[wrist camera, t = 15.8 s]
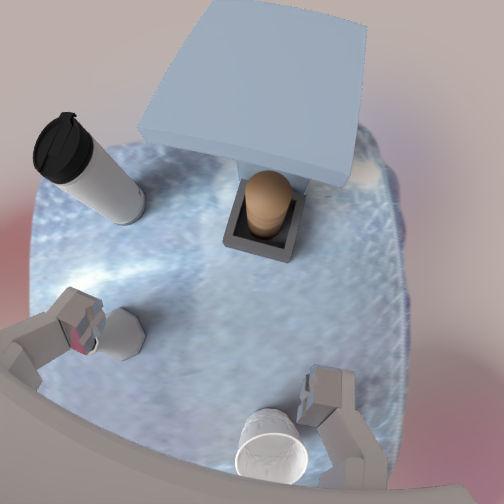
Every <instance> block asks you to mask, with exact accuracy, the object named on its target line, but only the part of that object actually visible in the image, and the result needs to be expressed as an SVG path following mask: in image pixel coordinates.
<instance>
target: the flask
mask: <svg viewBox="0 0 504 504" xmlns="http://www.w3.org/2000/svg"><path fill="white" fill-rule="evenodd" d="M105 316H106V324H105V327H104V330H103V332H102V333H101V335H100V336H98V337H96V338H94V341H95V344H94V346H93V347H92V349H91V350H90V352H89V354H88V355H87V356H89V355H91V354H93V353H95V352H97V351H98V352H103V353H106V354H108V355H110V356H112V357H114V358H116V359H118V360H120V361H124V360H126V359H128V358H131V357H133V356H135V355H137V354H138V353H139V351H140V349H141V346H142V344H143V342H144V340H145V337H146V335H145V333H144V331H143V329H142V327H141V325H140V323H139V320H138V318H137V317H136V316H134V315H133V314H131V313H129V312H127V311H126V310H124V309H123V308H121V307H120V308H118V309H116V310H114V311H112V312H110V313H109V314H107V315H105Z"/></svg>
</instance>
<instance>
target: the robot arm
mask: <svg viewBox="0 0 504 504" xmlns="http://www.w3.org/2000/svg"><path fill="white" fill-rule="evenodd" d="M102 307H103V303H102V300H100V299H98V298H96V297H93V296H91V295H89V294H86V293H84V292H82V291H80V290H77V289H75V288H72V287H69V288H67V289H66V290H65V291H64V292H63V293H62V294H61V296H60V297H59V298H58V299H57V300H56V301H55V303H54V304H53V305H52V306H51V308H50V309H49V310H48V311H47V312H46V313H45V312H42V313H40V314H37V315H35V316H33V317H30V318H28V319H26V320H23V321H21V322H19V323H16V324H14V325H12V326H10V327H7V328H5V329H2V330H0V504H477V503H476V501H475V500H474V498H473V496H472V495H471V494H470V492H469V491H468V490H467V488H466V487H465V486H464V485H462V484H451V485H443V486H435V487H426V488H414V489H399V490H387V457H386V455H385V454H384V452H383V450H382V449H381V447H380V445H379V444H378V442H377V440H376V439H375V437H374V436H373V434H372V432H371V431H370V429H369V427H368V426H367V424H366V422H365V421H364V419H363V418H362V416H361V414H360V413H359V411H355V374H354V372H353V371H348V370H342V369H340V368H334V367H329V366H323V365H318V364H314V365H313V366H312V367H311V369H310V374H308V375H306V377H305V378H304V380H303V383H302V386H301V390H300V396H299V398H300V400H301V402H302V403H301V404H300V406H299V407H298V411H297V419H296V423H297V424H302V425H307V426H312V427H318V428H317V430H318V432H319V434H320V437H321V439H322V441H323V444H324V446H325V448H326V450H327V453H328V455H329V457H330V460H331V462H332V464H333V466H334V467H333V468H331V469H329V470H328V471H326V472H324V473H323V474H321V475H320V479H319V486H318V488H317V487H307V486H298V485H291V484H284V483H277V482H271V481H265V480H260V479H255V478H250V477H245V476H240V475H236V474H232V473H227V472H223V471H219V470H216V469H212V468H208V467H205V466H201V465H198V464H194V463H191V462H188V461H185V460H182V459H178V458H175V457H172V456H170V455H167V454H164V453H161V452H158V451H156V450H153V449H150V448H148V447H145V446H143V445H140V444H138V443H135V442H133V441H130V440H128V439H126V438H123V437H121V436H119V435H117V434H114V433H112V432H110V431H108V430H106V429H104V428H101V427H99V426H97V425H95V424H93V423H91V422H89V421H87V420H85V419H84V418H82V417H80V416H78V415H76V414H74V413H72V412H70V411H69V410H67V409H65V408H63V407H62V406H60V405H58V404H56V403H55V402H53V401H51V400H50V399H48V398H46V397H45V396H43V395H42V394H40V393H38V392H37V390H38V388H39V386H40V385H41V383H42V378H41V376H40V375H39V373H38V372H37V369H39V368H40V367H42V366H44V365H45V364H47V363H49V362H50V361H52V360H54V359H55V358H57V357H59V356H60V355H62V354H64V353H65V352H67V351H68V350H70V348H71V349H73V350H75V351H77V352H80V353H82V354H84V355H86V356H87V355H88V354H89V352H90V350H91V349H92V347H93V346H94V344H95V341H94V338H96V337H98V336H100V335H101V333H102V332H103V330H104V327H105V324H106V316H105V313H104V312H103V310H102Z"/></svg>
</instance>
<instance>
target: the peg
mask: <svg viewBox="0 0 504 504" xmlns="http://www.w3.org/2000/svg"><path fill="white" fill-rule="evenodd" d="M245 197H246V210H247V223H248V229H249V231H250V233H251V234H252V235H253V236H254V237H256V238H258V239H260V240H269V239H272V238H274V237H275V236H276V235H277V234H278V233H279V232H280V229H281V227H282V224H283V221H284V218H285V215H286V212H287V210H288V207H289V204H290V201H291V198H292V188H291V185H290V183H289V181H288V180H287V178H286V177H285V176H283V175H282V174H280V173H278V172H276V171H270V170H265V171H261V172H258V173H256V174H254V175H253V176H252V177H251V178H250V179H249V181H248V182H247V185H246V188H245Z"/></svg>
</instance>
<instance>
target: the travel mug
mask: <svg viewBox="0 0 504 504" xmlns="http://www.w3.org/2000/svg"><path fill="white" fill-rule="evenodd" d="M74 117H76V114H75V113H71V112H62V113H61V114H60V116H59V117H58V118H56V119H54V120H53V121H51V122H50V123H49V124H48V125H47V126H46V127H45V128H44V129H43V131H42V132H41V134H40V135H39V137H38V139H37V141H36V144H35V147H34V151H33V163H34V167H35V169H37V171H38V172H39V173H40V174H41V175H42V176H43V177H45V178H46V179H48V180H49V181H50V182H52V183H53V184H55V185H56V186H57V187H59V188H61V189H62V190H64V191H65V192H67V193H68V194H70V195H71V196H73V197H74V198H76V199H78V200H79V201H81V202H82V203H84V204H85V205H87V206H89V207H90V208H92V209H93V210H95V211H96V212H98V213H100V214H101V215H103V216H104V217H106V218H108V219H109V220H111V221H113V222H114V223H116V224H118V225H130V224H132V223H134V222H135V221H137V220H138V219H139V218H140V217H141V215H142V214H143V212H144V210H145V206H146V197H145V194H144V192H143V191H142V190H141V189H140V188H139V187H138V185H137V184H136V183H135V182H134V181H133V180H132V179H131V178H130V177H129V176H128V175H127V174H126V173H125V172H124V171H123V169H122V168H121V167H120V166H119V165H118V164H117V163H116V162H115V161H114V160H113V159H112V158H111V157H110V155H109V154H108V153H107V152H106V151H105V150H104V149H103V148H102V147H101V146H100V145H99V143H98V142H97V141H96V140H95V139H94V138H93V137H92V136H91V135H90V133H88V132H87V131H86V130H85V129H84V128H83V127H82V125H81V124H80V123H79V122H78V121H77V120H76V119H75V118H74Z"/></svg>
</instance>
